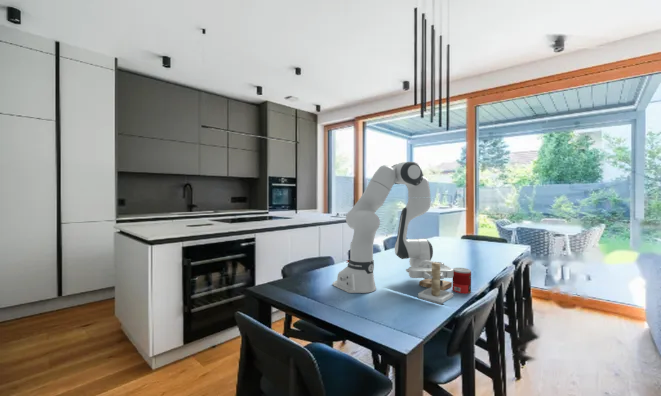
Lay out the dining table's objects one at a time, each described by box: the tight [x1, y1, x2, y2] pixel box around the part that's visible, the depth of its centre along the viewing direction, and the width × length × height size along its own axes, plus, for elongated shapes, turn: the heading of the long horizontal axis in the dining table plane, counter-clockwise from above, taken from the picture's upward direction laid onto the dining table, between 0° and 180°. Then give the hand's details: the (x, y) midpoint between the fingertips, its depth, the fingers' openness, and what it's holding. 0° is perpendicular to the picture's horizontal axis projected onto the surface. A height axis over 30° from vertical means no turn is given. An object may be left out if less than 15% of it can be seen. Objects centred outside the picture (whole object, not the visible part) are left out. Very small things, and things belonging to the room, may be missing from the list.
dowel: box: [431, 261, 441, 296], centre depth 133 cm, size 4×4×14 cm
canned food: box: [452, 267, 472, 295], centre depth 140 cm, size 8×8×11 cm
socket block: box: [418, 278, 453, 291], centre depth 148 cm, size 12×10×5 cm
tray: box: [417, 287, 454, 306], centre depth 133 cm, size 11×11×2 cm
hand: (436, 277), depth 132 cm, fingers closed on dowel, 3 cm apart
